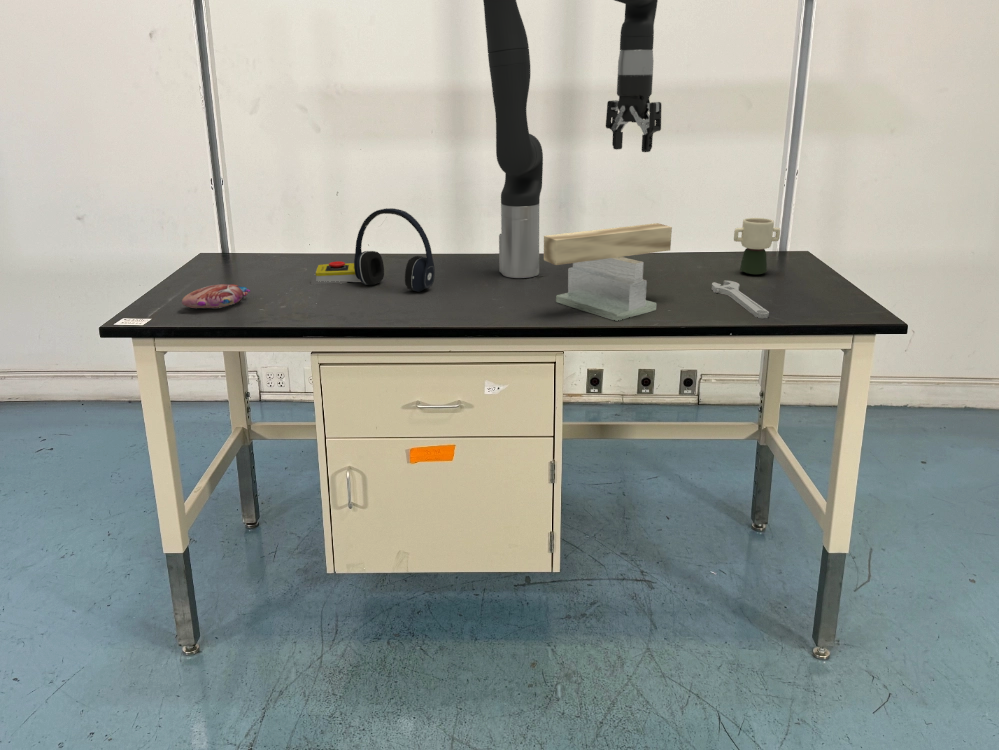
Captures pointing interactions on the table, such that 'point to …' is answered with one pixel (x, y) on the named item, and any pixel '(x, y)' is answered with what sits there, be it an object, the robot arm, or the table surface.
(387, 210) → the headphones
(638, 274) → the stand
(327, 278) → the emergency button
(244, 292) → the anatomical model
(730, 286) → the adjustable wrench
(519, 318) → the table surface
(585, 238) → the pine rod
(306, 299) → the table surface
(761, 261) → the trophy cup
